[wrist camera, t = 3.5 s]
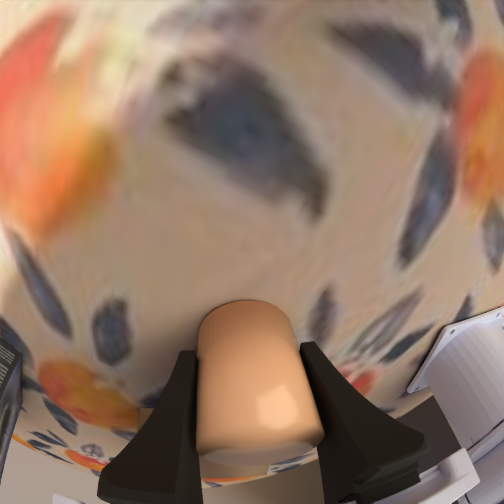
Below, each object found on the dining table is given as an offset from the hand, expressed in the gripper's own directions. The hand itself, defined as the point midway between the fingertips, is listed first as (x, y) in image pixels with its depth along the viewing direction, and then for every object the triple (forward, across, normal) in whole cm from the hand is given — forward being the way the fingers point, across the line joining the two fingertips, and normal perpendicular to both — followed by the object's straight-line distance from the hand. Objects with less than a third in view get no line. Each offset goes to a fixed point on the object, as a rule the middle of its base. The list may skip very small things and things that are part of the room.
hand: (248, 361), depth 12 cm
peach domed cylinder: (+2, 0, 0) cm, 2 cm away
